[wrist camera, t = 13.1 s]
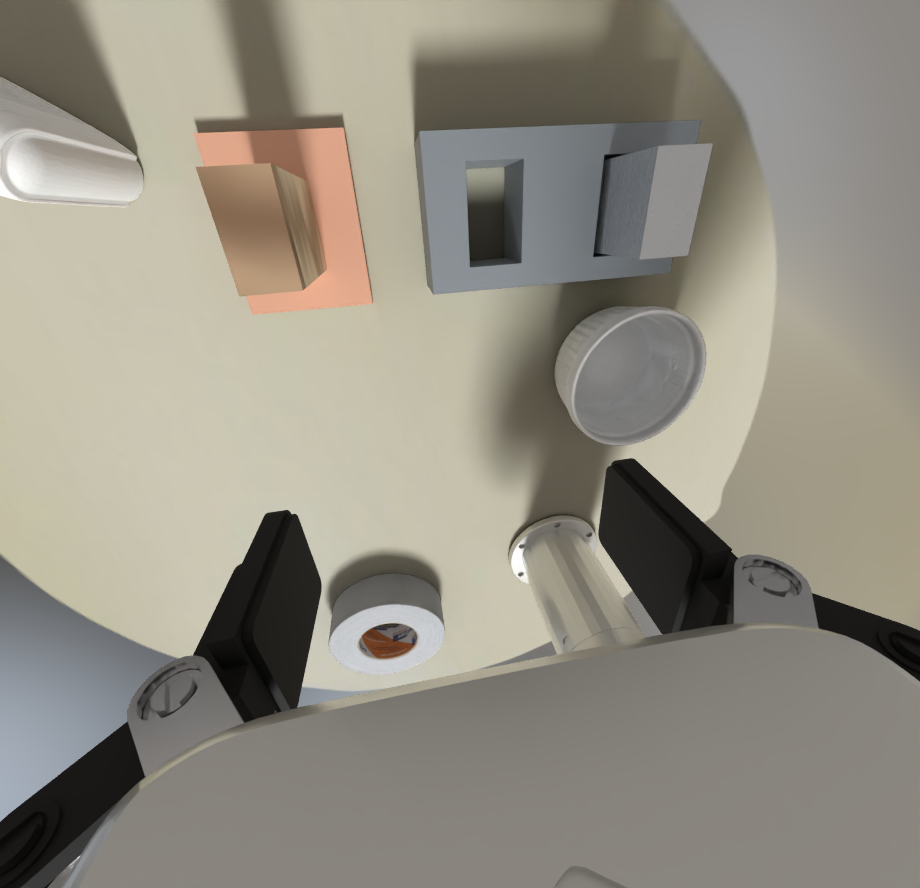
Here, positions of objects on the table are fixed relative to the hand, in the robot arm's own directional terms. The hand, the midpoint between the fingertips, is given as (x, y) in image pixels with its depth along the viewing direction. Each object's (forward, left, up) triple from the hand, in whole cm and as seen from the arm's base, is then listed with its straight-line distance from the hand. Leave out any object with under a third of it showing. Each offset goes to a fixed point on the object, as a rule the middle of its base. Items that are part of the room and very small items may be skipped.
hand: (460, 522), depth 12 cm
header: (+8, -12, -28) cm, 31 cm away
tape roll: (-40, +8, -28) cm, 50 cm away
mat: (+8, +8, -28) cm, 30 cm away
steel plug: (+8, -17, -28) cm, 34 cm away
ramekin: (-6, -20, -28) cm, 35 cm away
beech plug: (+8, +8, -27) cm, 29 cm away
